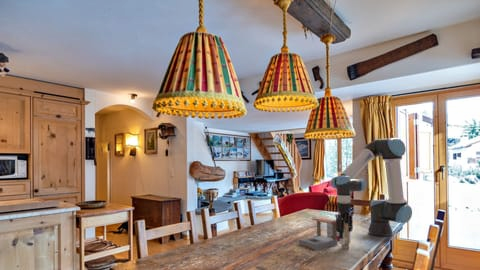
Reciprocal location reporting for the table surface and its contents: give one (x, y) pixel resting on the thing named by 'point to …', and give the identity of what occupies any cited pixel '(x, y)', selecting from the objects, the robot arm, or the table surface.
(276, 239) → the table surface
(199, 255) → the table surface
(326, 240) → the socket porch
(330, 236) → the ink box
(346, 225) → the peg
